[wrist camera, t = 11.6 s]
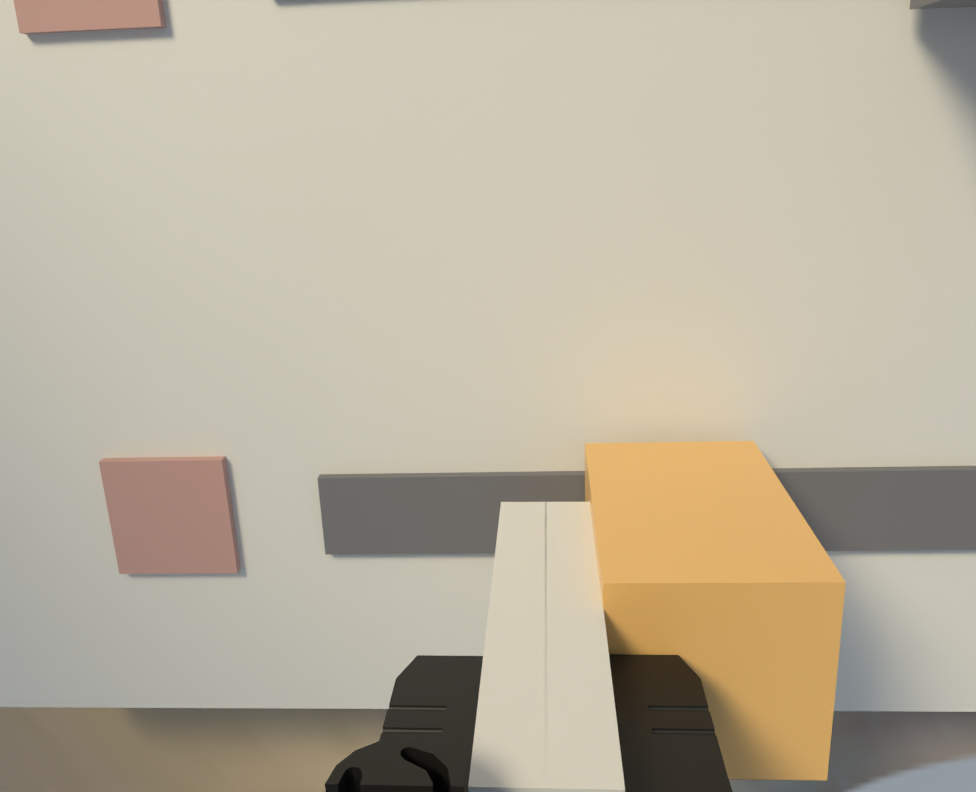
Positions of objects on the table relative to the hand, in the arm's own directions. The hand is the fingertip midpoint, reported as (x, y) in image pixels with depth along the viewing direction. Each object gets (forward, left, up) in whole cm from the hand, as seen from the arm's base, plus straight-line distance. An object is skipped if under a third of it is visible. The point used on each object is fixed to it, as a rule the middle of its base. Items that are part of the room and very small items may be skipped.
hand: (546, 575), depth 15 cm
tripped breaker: (+2, 0, -2) cm, 3 cm away
